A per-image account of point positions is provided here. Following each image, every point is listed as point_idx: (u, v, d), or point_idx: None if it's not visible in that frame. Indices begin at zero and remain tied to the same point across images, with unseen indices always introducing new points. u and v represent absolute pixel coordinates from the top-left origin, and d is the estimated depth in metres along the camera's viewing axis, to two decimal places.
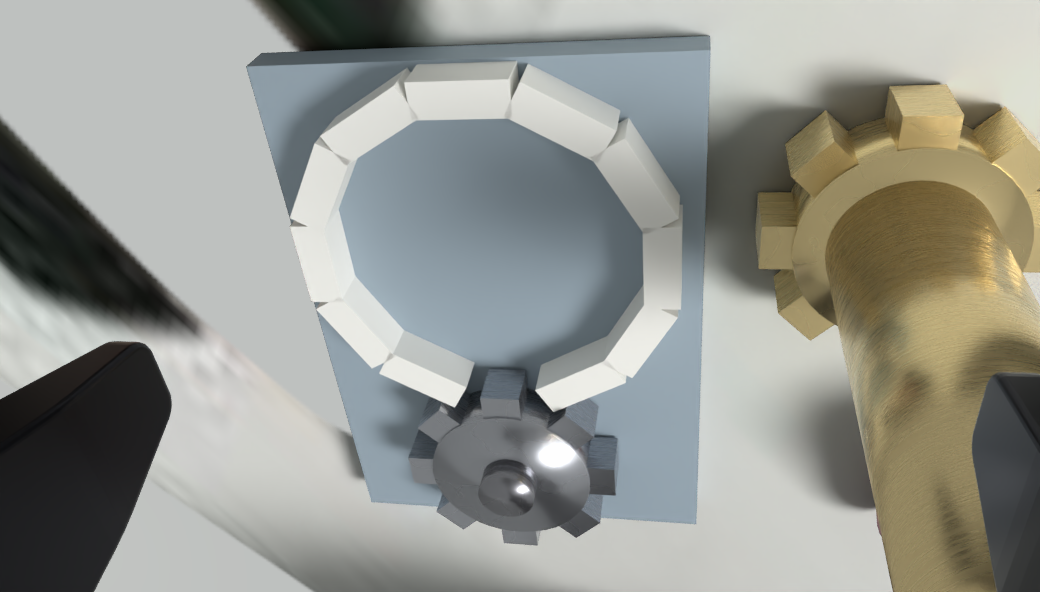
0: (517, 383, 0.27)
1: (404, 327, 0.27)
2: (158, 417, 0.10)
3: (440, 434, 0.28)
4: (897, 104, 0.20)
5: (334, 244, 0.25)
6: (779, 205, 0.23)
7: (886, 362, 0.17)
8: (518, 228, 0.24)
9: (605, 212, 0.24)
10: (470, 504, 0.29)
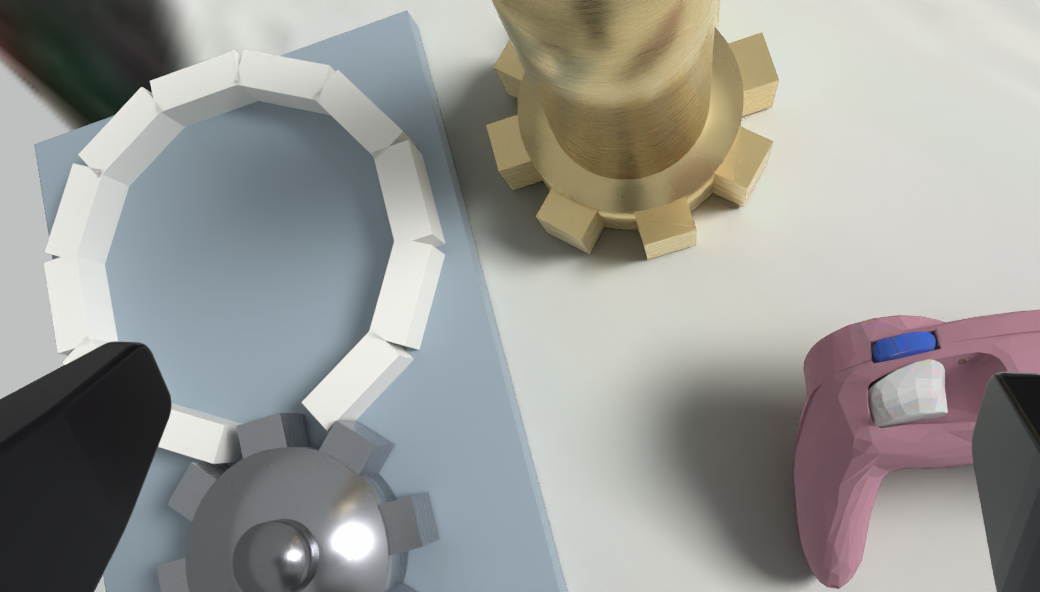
0: None
1: None
2: (158, 417, 0.10)
3: (195, 506, 0.21)
4: None
5: (90, 283, 0.24)
6: None
7: None
8: (275, 230, 0.24)
9: (353, 185, 0.24)
10: None
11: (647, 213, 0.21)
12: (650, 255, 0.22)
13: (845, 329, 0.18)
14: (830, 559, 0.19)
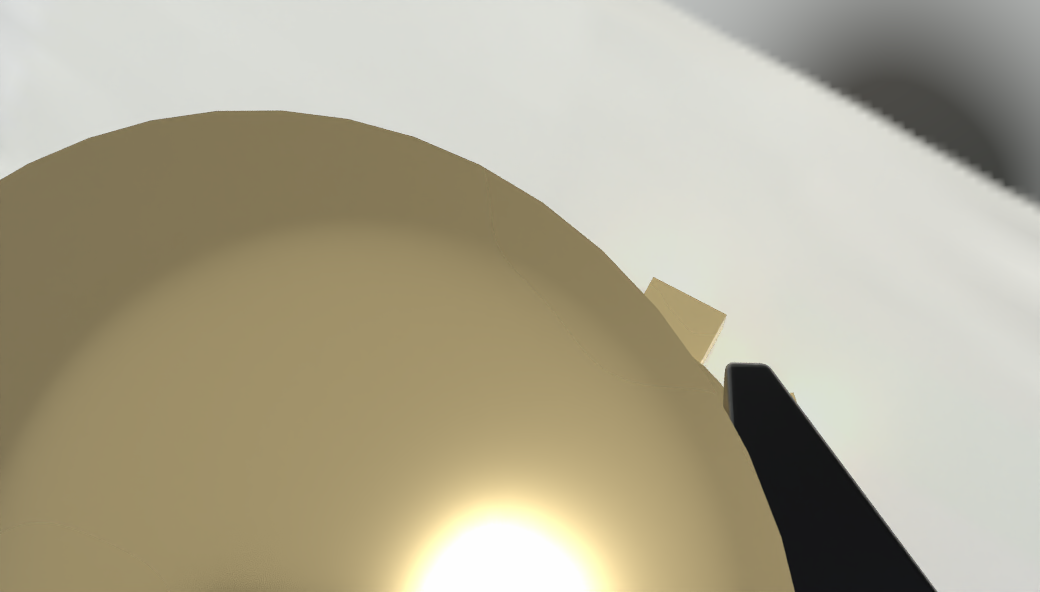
0: None
1: None
2: None
3: None
4: None
5: None
6: None
7: None
8: None
9: None
10: None
11: None
12: None
13: None
14: None
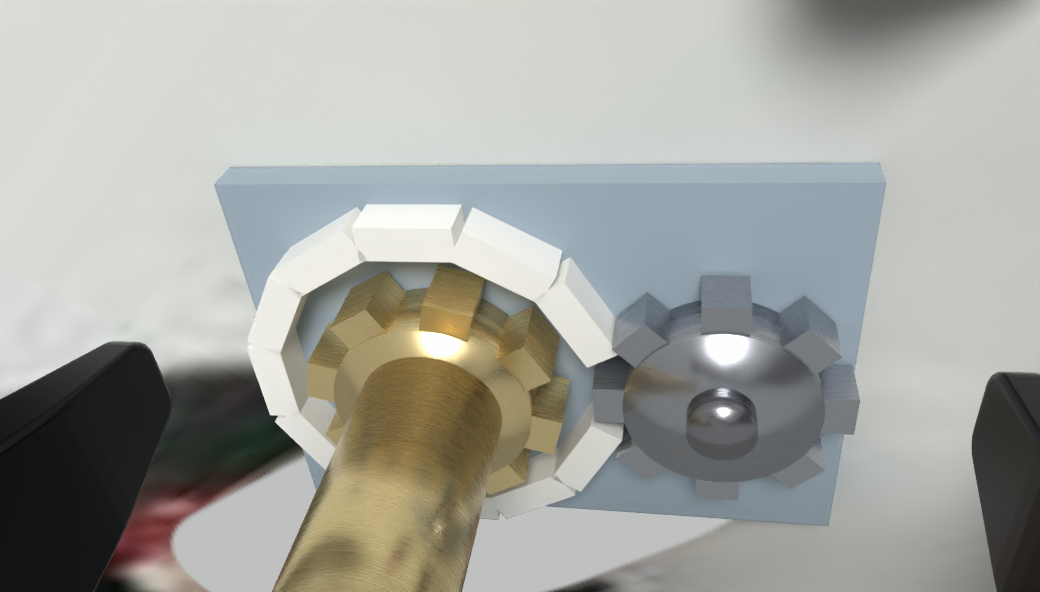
0: None
1: None
2: (158, 417, 0.10)
3: (654, 462, 0.24)
4: None
5: None
6: None
7: None
8: None
9: (389, 269, 0.24)
10: (770, 457, 0.23)
11: (522, 383, 0.23)
12: (556, 344, 0.24)
13: None
14: None
